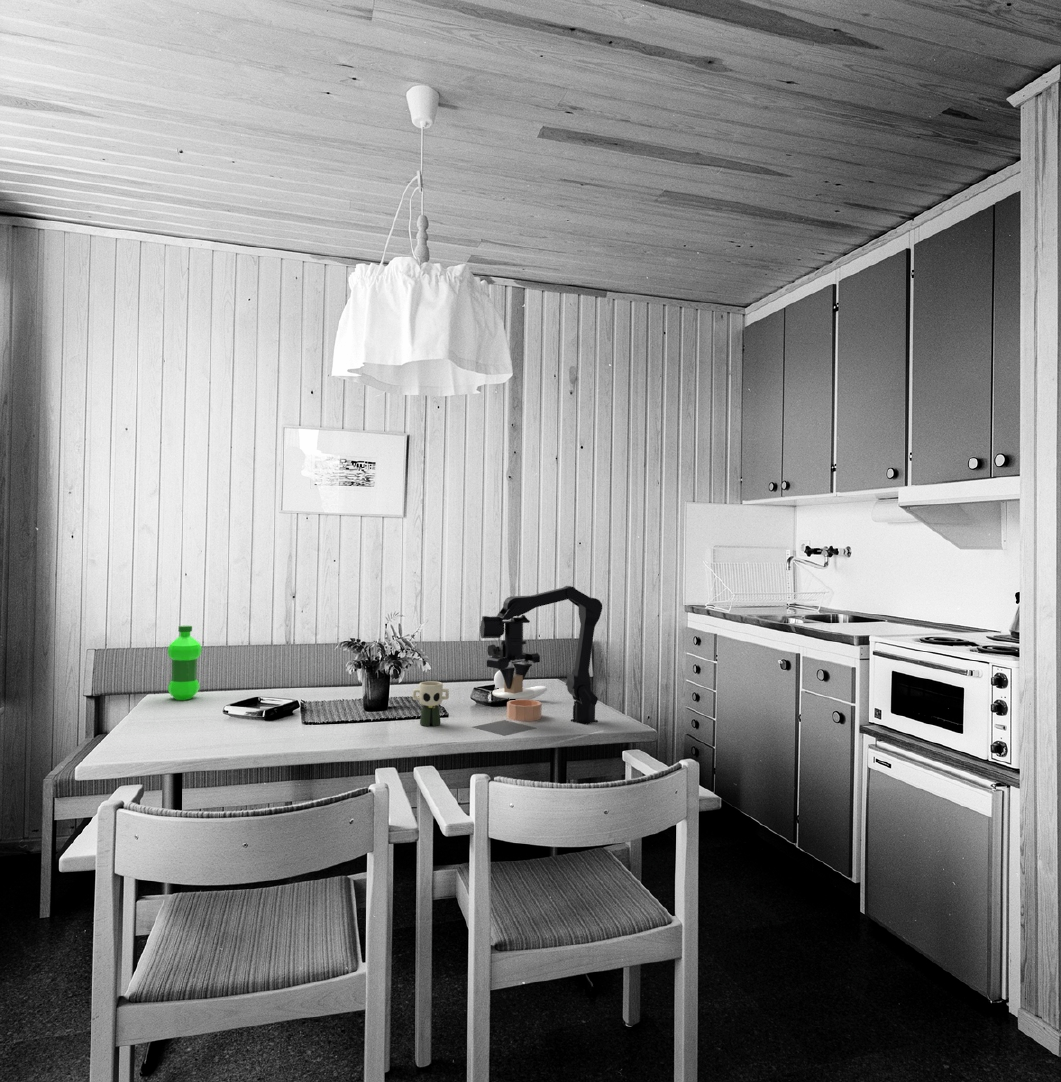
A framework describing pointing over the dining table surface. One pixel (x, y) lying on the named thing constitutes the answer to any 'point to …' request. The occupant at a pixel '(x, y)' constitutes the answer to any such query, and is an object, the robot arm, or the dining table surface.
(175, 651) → the plastic bottle
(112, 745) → the dining table surface
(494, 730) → the mat
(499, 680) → the banana
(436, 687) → the character mug
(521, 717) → the faceted tan prism
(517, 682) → the lid
